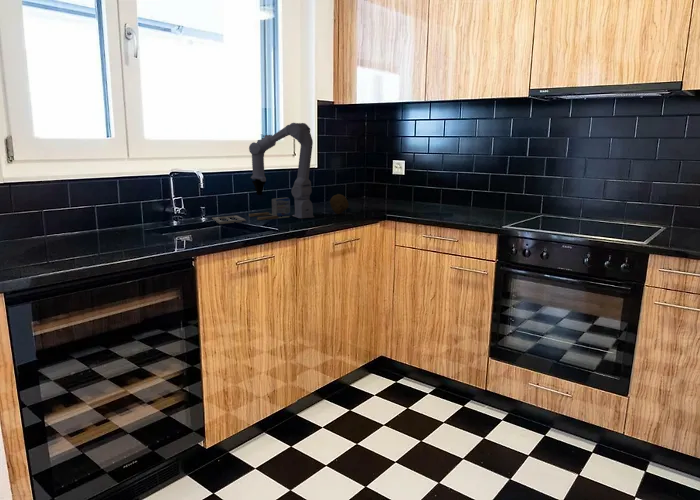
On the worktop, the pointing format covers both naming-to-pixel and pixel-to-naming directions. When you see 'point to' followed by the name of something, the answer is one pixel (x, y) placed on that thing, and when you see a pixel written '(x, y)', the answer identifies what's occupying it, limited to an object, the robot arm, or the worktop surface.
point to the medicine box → (281, 207)
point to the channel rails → (263, 215)
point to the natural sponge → (339, 203)
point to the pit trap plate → (228, 219)
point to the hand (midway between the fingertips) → (259, 194)
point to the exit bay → (282, 217)
